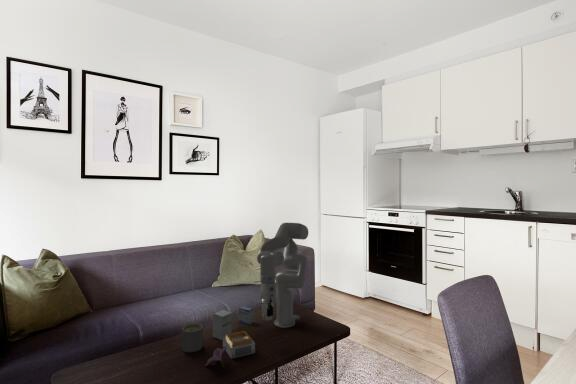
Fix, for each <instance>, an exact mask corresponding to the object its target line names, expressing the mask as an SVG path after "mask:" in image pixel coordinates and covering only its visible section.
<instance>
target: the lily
mask: <svg viewBox="0 0 576 384" xmlns="http://www.w3.org/2000/svg"><path fill="white" fill-rule="evenodd" d="M226 346H227V345H226ZM226 346H225V347H222V348H220V347H217V348H215V350H214V352H213V354H212V356H211V357H209V358H208V360H207V362H206V364H205V367H207V366H208V365H209V364H211V362H213V361H217V362H218V361H220V363H221V364H222V366H223V368H225V366H224V364H223V361H222V356H223V353H224V352H226V349H228V348H226Z"/></svg>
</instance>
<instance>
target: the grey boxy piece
mask: <svg viewBox="0 0 576 384" xmlns="http://www.w3.org/2000/svg"><path fill="white" fill-rule="evenodd" d="M226 345H227V346H226ZM225 346H226V348H228V349H226V350H225V352H226V353H227V355H228V356H229V358H230V359H231V360H232V359H236V358H240V357H245V356H249V355H253V354H255V353H256V343H255V341H254V340H253V339H252V337H251V336H250V335H249V334H248V332H247V331H245V330H242V331H237V332H232V333H231V334H226V336H223V340H222V348H224V347H225Z"/></svg>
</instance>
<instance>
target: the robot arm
mask: <svg viewBox="0 0 576 384" xmlns="http://www.w3.org/2000/svg"><path fill="white" fill-rule="evenodd" d="M308 237H309V229H308V226H306V225H305V224H302V223H299V222H282V223H281V224H280V226H279V228H278V230H277V232H276V234H275V236H274V237H272V238H270V239H268V240H267V241H266V242H264V243H263V244H262V245H261V247H260V249H259V251H258V253H257V256H256V260H257V263H258V264H259V265H260V266H259V267H260V275H259V276H260V277H259V278H260V279H259V282H260V289H259V290H260V291H259V293H260V299H261V300H262V299H264V300H265V302H267V306H268V309H267V317H269V316H273V317H274V308H275V307H274V306H275V305H276V319H275V320H274V321H273V324H274V326H275V327H278V328H283V329H287V328H291V327H294V326H295V325H296V321H295V320H300V319H301V317H300V315H299V314H298V315H297V314H294V310H293V308H294V307H293V306H294V293H293V291H292V289H299V290H300V289H303V288H304V286H305V284H306V283H305V282H306V276H307V271H308V270H307V269H308V258H307V256H306V255H304V254H298V245H297V243H296V242H295V241H294V240H306V239H307V238H308ZM280 249H283V251H282V252H281V251H277V250H280ZM279 266H281V268H283V270H279V271H278V272H276V267H279ZM269 301H271V302H269ZM270 303H271V305H270V306H269V304H270Z"/></svg>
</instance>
